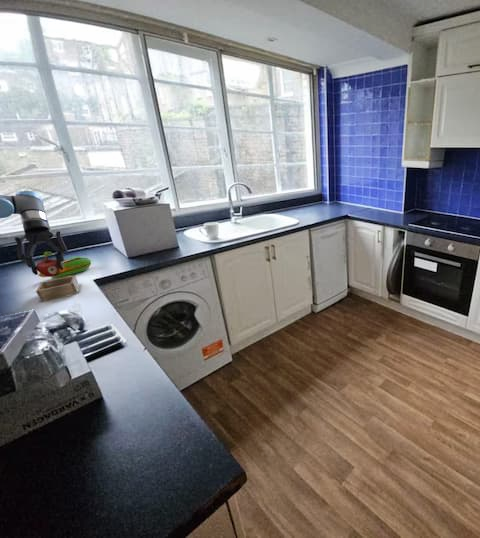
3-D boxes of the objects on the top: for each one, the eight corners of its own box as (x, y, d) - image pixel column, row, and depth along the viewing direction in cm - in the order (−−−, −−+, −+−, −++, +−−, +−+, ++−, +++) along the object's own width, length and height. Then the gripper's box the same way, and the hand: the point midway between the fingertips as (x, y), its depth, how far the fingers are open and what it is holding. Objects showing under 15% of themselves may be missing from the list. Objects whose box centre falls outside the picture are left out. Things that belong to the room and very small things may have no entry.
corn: (90, 254, 148) (37, 268, 132) (97, 268, 151) (45, 283, 134) (84, 253, 151) (31, 266, 135) (90, 266, 154) (39, 281, 138)
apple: (62, 276, 121) (51, 254, 117) (39, 281, 118) (27, 257, 114) (66, 270, 127) (55, 249, 123) (44, 274, 124) (33, 252, 120)
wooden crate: (41, 301, 119) (35, 291, 117) (45, 292, 127) (40, 282, 125) (77, 293, 125) (73, 283, 123) (79, 284, 133) (74, 275, 131)
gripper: (70, 224, 132) (83, 268, 127) (6, 233, 121) (17, 281, 116) (64, 215, 127) (77, 260, 121) (-4, 223, 115) (7, 273, 110)
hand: (48, 270), depth 119 cm, fingers closed on apple, 7 cm apart
